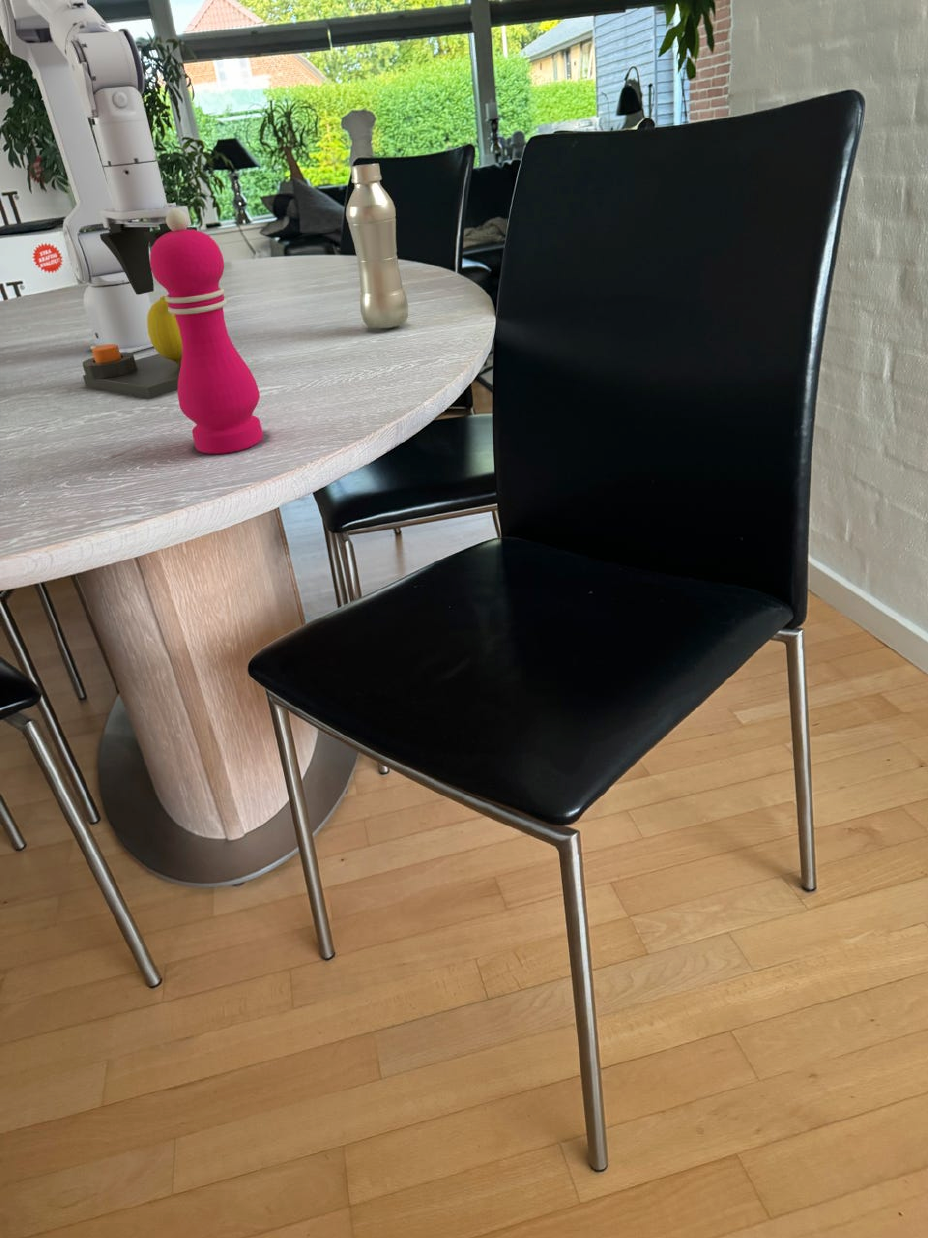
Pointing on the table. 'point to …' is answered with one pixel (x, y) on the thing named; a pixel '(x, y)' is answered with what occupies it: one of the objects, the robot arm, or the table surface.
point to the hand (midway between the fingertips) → (163, 294)
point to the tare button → (106, 353)
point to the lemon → (164, 331)
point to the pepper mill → (205, 341)
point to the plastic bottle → (376, 250)
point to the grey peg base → (133, 375)
